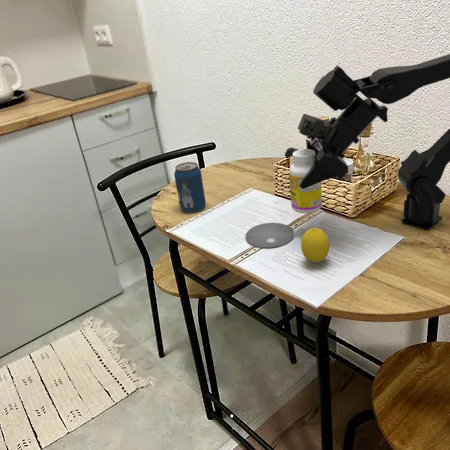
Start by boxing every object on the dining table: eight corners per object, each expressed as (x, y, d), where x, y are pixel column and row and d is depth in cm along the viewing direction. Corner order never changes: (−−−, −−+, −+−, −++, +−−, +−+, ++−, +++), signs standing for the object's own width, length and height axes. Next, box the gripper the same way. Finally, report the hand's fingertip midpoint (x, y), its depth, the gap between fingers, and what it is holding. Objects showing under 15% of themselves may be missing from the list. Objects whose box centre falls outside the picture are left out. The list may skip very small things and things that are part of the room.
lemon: (323, 272, 92) (322, 237, 89) (297, 266, 95) (295, 232, 92) (333, 258, 96) (333, 223, 93) (308, 253, 99) (307, 219, 96)
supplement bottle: (291, 202, 108) (288, 148, 102) (321, 200, 106) (319, 146, 101) (291, 215, 102) (287, 159, 96) (322, 213, 101) (320, 156, 95)
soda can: (202, 200, 130) (195, 159, 124) (209, 210, 124) (203, 167, 118) (177, 206, 128) (170, 165, 122) (184, 216, 122) (176, 173, 117)
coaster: (303, 232, 107) (303, 230, 107) (272, 253, 101) (272, 251, 100) (267, 220, 114) (267, 218, 114) (235, 239, 108) (235, 237, 108)
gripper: (313, 90, 101) (267, 145, 107) (329, 111, 85) (273, 175, 91) (351, 121, 104) (303, 173, 110) (373, 148, 88) (316, 207, 94)
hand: (298, 181), depth 101 cm, fingers closed on supplement bottle, 7 cm apart
